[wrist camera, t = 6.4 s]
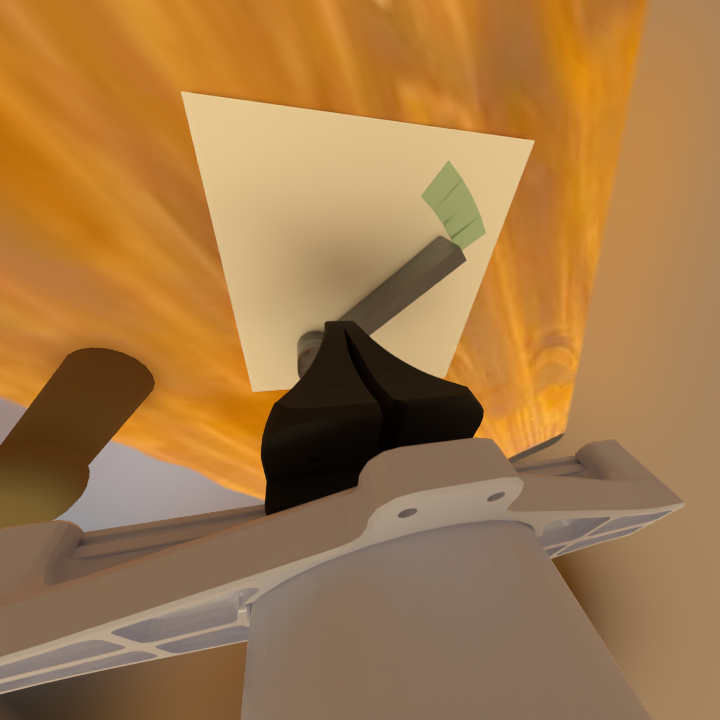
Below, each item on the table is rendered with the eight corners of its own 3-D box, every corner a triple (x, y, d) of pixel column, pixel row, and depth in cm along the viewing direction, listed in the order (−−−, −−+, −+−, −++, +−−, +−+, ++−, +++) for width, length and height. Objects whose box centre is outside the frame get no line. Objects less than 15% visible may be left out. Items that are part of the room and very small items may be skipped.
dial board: (441, 371, 29) (445, 377, 29) (253, 384, 25) (252, 392, 24) (524, 141, 17) (535, 140, 16) (187, 94, 13) (180, 91, 12)
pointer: (315, 367, 24) (318, 391, 21) (289, 347, 22) (288, 371, 20) (452, 258, 20) (475, 273, 18) (434, 223, 18) (456, 235, 16)
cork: (116, 338, 20) (-13, 475, 12) (170, 390, 24) (103, 520, 15) (39, 361, 20) (-147, 516, 11) (106, 409, 24) (4, 551, 15)
